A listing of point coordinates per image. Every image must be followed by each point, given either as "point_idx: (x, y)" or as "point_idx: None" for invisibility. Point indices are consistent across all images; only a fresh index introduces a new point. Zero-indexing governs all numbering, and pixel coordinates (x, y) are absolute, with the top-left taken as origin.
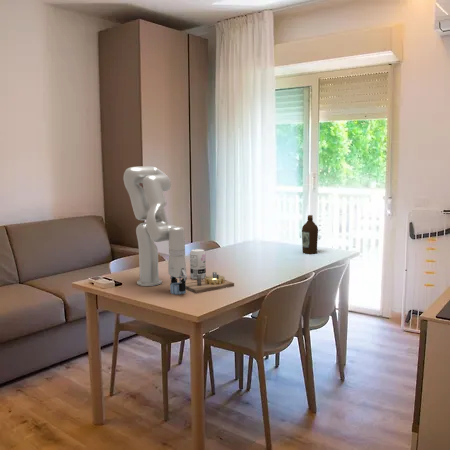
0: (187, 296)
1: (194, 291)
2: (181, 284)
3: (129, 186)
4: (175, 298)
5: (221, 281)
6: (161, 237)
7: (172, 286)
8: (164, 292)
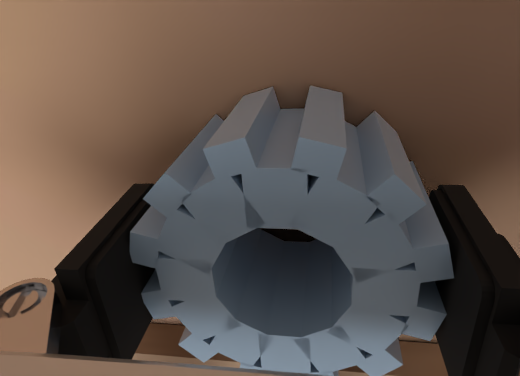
0: (60, 203)
1: (170, 336)
2: (57, 281)
3: None
4: (9, 22)
5: None
6: None
7: (220, 137)
8: (446, 9)
